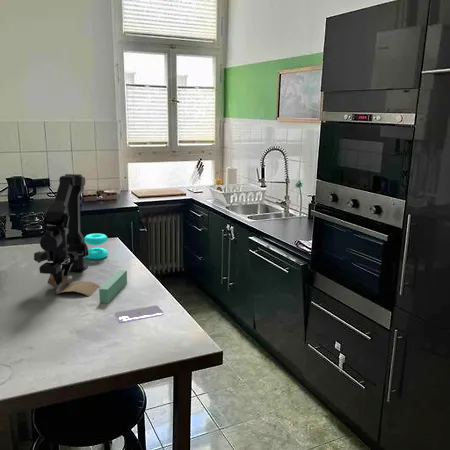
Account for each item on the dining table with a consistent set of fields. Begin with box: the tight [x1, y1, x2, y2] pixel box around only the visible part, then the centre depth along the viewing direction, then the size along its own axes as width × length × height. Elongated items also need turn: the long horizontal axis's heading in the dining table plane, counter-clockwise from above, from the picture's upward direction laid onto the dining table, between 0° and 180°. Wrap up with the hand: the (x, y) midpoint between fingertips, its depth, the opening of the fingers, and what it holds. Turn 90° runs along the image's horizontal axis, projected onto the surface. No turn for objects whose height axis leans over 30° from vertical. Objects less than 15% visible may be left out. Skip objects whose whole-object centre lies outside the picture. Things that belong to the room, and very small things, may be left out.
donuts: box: [84, 233, 109, 260], centre depth 205 cm, size 10×10×10 cm
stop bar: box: [98, 269, 128, 304], centre depth 166 cm, size 20×3×5 cm, turn 173°
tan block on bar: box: [47, 274, 73, 295], centre depth 168 cm, size 6×10×4 cm, turn 175°
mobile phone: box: [113, 304, 165, 323], centre depth 149 cm, size 8×1×15 cm
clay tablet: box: [56, 280, 100, 297], centre depth 167 cm, size 14×10×3 cm
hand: (61, 283), depth 168 cm, fingers closed on tan block on bar, 3 cm apart
